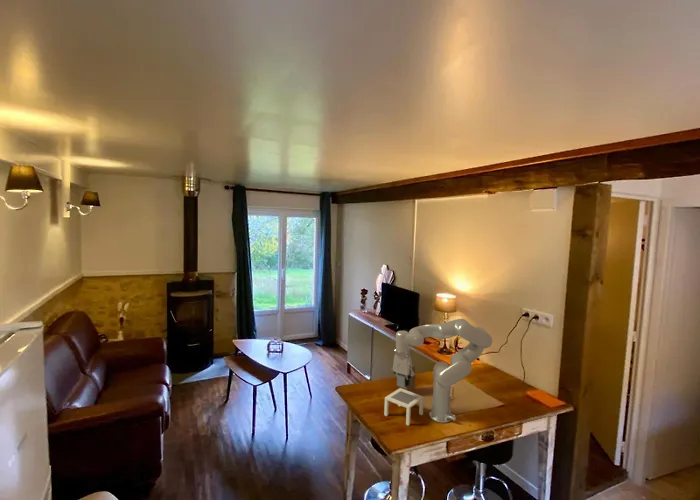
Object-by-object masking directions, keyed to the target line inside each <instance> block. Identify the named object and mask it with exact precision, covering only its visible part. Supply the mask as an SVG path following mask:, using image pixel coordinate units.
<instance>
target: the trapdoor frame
mask: <svg viewBox="0 0 700 500" xmlns="http://www.w3.org/2000/svg"><path fill="white" fill-rule="evenodd" d="M400 392H404V393H407V394H409V395H412V396H415V397H417V398H416V399H414V400H413V401H412V402H410V403H409V404H406V403H404V402H401V401H398V400H396V399H393V398H392V397H394V396H395V395H397V394H398V393H400ZM424 400H425V399H424V395H423V396H422V395H420V394H418V393H415V392H414V393H412V392H409V391H407V390H404V389H401V388H399V387H398V388H397V389H396V390H395V391H392V392H391V393H389V394H388V395H386V396H385V397H384V409H383V410H384V411H383V413H384V415H383V416H385V417H387V416H389V403H393V404H395V405H397V406H398V407H403V408H406V410H405V411H406V414H405V417H406V418H405V425H406V426H410V425H411V410H412V409H411V408H412V407H414V406H415V405H417V404H418V403H419V409H418V410H419V411H418V415H420V416H422V415H423V414H424Z"/></svg>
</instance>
